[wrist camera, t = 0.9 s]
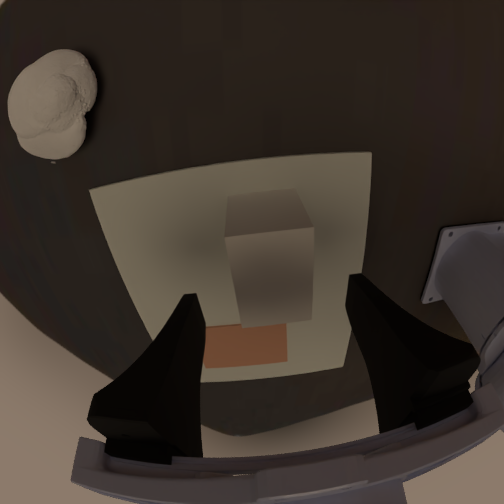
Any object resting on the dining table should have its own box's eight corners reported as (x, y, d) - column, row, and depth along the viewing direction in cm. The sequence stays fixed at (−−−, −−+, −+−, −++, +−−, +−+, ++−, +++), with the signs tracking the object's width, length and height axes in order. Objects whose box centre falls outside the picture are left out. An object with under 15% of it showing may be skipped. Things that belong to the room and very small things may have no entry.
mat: (369, 151, 16) (371, 152, 15) (342, 364, 28) (342, 366, 27) (91, 188, 16) (89, 190, 16) (177, 380, 28) (177, 382, 28)
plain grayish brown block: (294, 188, 17) (314, 227, 12) (297, 268, 20) (311, 319, 16) (228, 195, 17) (224, 237, 13) (241, 274, 20) (242, 328, 16)
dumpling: (44, 59, 11) (6, 61, 7) (110, 46, 11) (76, 39, 8) (44, 156, 15) (9, 176, 11) (105, 154, 15) (74, 174, 12)
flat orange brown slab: (285, 318, 23) (286, 320, 22) (287, 359, 26) (287, 361, 26) (190, 327, 23) (189, 329, 23) (205, 366, 26) (205, 368, 26)
